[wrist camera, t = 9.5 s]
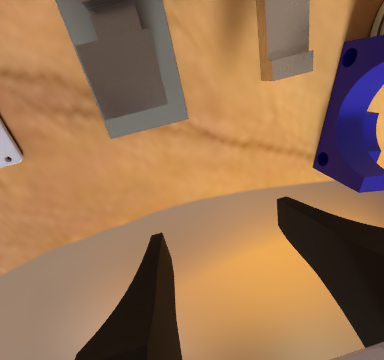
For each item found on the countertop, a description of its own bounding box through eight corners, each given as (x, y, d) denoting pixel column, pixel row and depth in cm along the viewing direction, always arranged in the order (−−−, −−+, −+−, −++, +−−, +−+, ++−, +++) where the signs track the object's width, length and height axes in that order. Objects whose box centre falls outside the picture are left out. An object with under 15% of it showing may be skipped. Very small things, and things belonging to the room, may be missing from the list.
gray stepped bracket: (121, 105, 18) (105, 120, 12) (80, -9, 15) (27, -75, 8) (162, 95, 18) (168, 104, 12) (131, -20, 15) (117, -93, 8)
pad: (111, 137, 19) (110, 139, 19) (41, -41, 14) (37, -46, 14) (187, 117, 20) (188, 118, 19) (147, -63, 14) (147, -68, 14)
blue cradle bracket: (347, 165, 25) (401, 188, 20) (312, 167, 24) (358, 192, 19) (387, 43, 20) (473, 30, 15) (344, 42, 19) (419, 27, 14)
